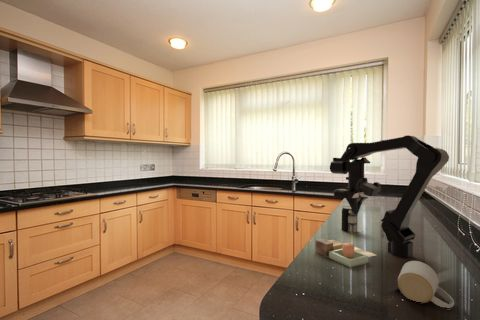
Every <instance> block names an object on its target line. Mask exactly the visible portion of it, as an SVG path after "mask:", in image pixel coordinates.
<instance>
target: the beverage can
mask: <svg viewBox="0 0 480 320" xmlns="http://www.w3.org/2000/svg"><path fill="white" fill-rule="evenodd" d="M358 215H359V213H358V214H357V215H355V214H354V213H353V211H352V209H351V207H350V205H345V206H342V209H341V228H340V230H341V231H342V232H345V233H352V234H354V233H358Z"/></svg>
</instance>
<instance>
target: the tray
mask: <svg viewBox="0 0 480 320" xmlns="http://www.w3.org/2000/svg"><path fill="white" fill-rule="evenodd" d="M328 259H331V260H332V259H333V260H332V261H335V262H336V263H339V264H341V265H344V266H346V267H348V268H355V267H358V266H362V265H365V264H368V263H369V258H368V256H367V255H364V254H362V253H359V252H357V251H354V258H353V259H348V258H346V257H344V256H342V249H338V250H333V251H329V258H328Z"/></svg>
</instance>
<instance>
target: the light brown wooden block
mask: <svg viewBox="0 0 480 320" xmlns="http://www.w3.org/2000/svg"><path fill="white" fill-rule="evenodd" d="M327 241H329V242H332V243H333V250H338V249H342V242H339V241H337V240H334V239H330V240H329V239H328V240H327Z"/></svg>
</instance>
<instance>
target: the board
mask: <svg viewBox="0 0 480 320" xmlns="http://www.w3.org/2000/svg"><path fill="white" fill-rule="evenodd" d="M354 251H357V252H359V253H362V254H364V255H367V256H368V259H369V258H372V257H376V256H377V254H375V253H373V252H371V251H368V250H365V249H362V248H360V247H356V246H354ZM314 252H315V253H317V252H316V251H315V250H314ZM326 258H328V259H330V258H329V256H327V257H326ZM331 260H332V261H334V260H333V259H331Z"/></svg>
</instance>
